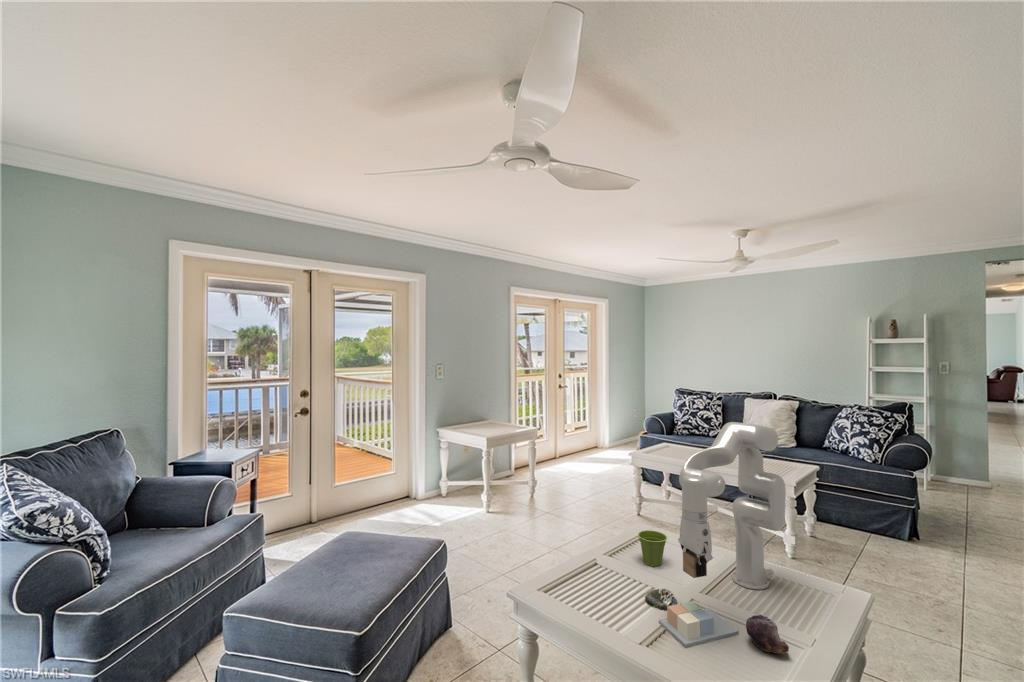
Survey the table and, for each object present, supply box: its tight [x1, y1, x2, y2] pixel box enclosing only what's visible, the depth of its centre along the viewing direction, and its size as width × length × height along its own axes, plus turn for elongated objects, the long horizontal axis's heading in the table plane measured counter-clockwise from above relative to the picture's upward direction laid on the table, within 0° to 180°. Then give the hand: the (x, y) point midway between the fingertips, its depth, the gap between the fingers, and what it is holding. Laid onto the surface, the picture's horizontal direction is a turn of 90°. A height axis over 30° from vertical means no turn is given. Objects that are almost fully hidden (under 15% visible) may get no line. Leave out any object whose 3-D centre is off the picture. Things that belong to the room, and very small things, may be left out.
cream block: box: [677, 612, 700, 640], centre depth 142 cm, size 5×5×5 cm
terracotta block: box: [666, 603, 689, 630], centre depth 147 cm, size 5×5×5 cm
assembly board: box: [658, 608, 740, 649], centre depth 146 cm, size 20×13×1 cm, turn 108°
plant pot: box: [637, 529, 668, 567], centre depth 191 cm, size 12×12×11 cm
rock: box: [745, 614, 790, 655], centre depth 137 cm, size 12×9×10 cm
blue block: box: [690, 608, 714, 636], centre depth 144 cm, size 5×5×5 cm
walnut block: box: [682, 551, 708, 579], centre depth 147 cm, size 5×5×6 cm
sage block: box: [679, 600, 703, 612], centre depth 149 cm, size 5×5×5 cm
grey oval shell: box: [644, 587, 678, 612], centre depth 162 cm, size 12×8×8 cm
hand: (694, 571), depth 147 cm, fingers closed on walnut block, 5 cm apart
